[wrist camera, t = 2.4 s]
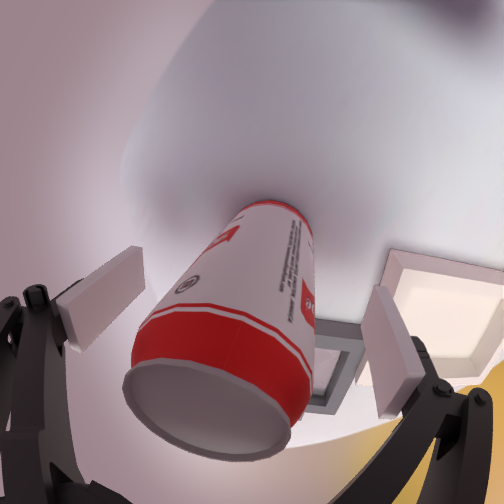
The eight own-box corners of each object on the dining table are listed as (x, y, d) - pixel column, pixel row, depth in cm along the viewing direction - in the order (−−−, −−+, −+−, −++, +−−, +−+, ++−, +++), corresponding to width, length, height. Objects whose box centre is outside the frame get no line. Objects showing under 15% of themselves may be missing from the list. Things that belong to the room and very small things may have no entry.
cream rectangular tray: (390, 248, 20) (403, 268, 17) (515, 274, 18) (533, 290, 15) (352, 358, 24) (355, 384, 21) (470, 363, 22) (480, 384, 19)
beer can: (222, 258, 23) (112, 421, 8) (245, 185, 20) (100, 302, 6) (295, 286, 22) (265, 480, 8) (326, 215, 20) (359, 400, 5)
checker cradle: (246, 307, 24) (240, 324, 22) (366, 325, 23) (371, 343, 20) (237, 397, 29) (232, 414, 27) (328, 411, 28) (328, 428, 26)
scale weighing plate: (264, 328, 24) (262, 333, 24) (342, 339, 23) (343, 345, 23) (256, 379, 27) (254, 385, 27) (323, 389, 26) (323, 395, 26)
